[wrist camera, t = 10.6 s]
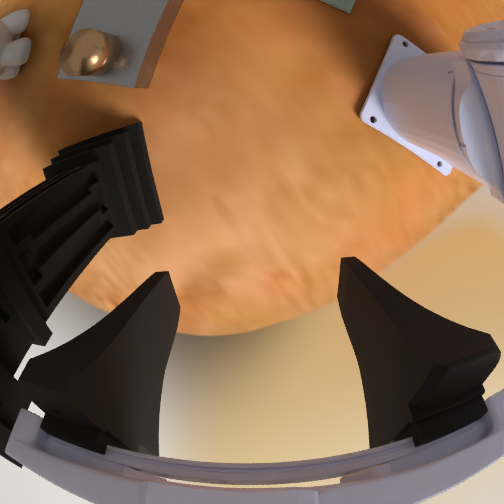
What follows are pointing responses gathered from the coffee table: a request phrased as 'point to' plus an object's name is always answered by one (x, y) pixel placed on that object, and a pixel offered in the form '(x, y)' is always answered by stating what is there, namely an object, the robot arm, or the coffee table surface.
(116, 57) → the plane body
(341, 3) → the rubber mat
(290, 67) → the coffee table surface
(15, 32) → the chubby cartoon animal
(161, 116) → the coffee table surface
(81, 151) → the chess piece
